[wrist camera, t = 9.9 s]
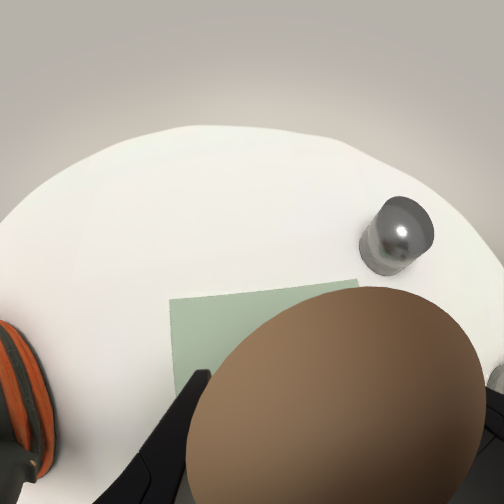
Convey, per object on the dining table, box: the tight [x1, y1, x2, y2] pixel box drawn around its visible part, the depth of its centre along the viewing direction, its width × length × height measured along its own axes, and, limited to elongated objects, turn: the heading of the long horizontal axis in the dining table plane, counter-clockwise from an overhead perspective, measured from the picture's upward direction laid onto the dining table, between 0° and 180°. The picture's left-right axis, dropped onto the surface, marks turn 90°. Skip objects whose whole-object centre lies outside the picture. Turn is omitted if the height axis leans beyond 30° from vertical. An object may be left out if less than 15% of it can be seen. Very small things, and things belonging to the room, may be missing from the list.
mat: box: [170, 279, 359, 397], centre depth 15 cm, size 12×12×1 cm
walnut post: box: [186, 286, 486, 504], centre depth 8 cm, size 5×5×12 cm
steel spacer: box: [359, 196, 434, 276], centre depth 17 cm, size 4×4×4 cm
